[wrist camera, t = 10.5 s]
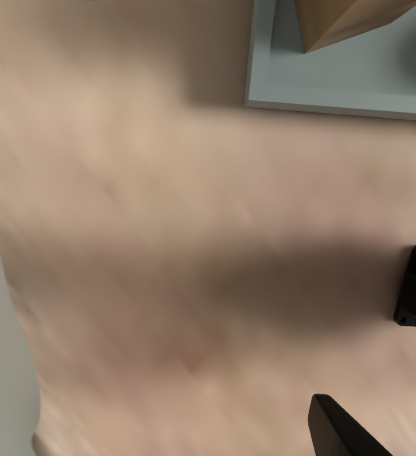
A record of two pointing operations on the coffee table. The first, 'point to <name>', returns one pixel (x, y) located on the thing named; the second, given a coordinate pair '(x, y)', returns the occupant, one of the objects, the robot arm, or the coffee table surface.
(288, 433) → the coffee table surface
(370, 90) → the shallow rimmed tray
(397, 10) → the post
